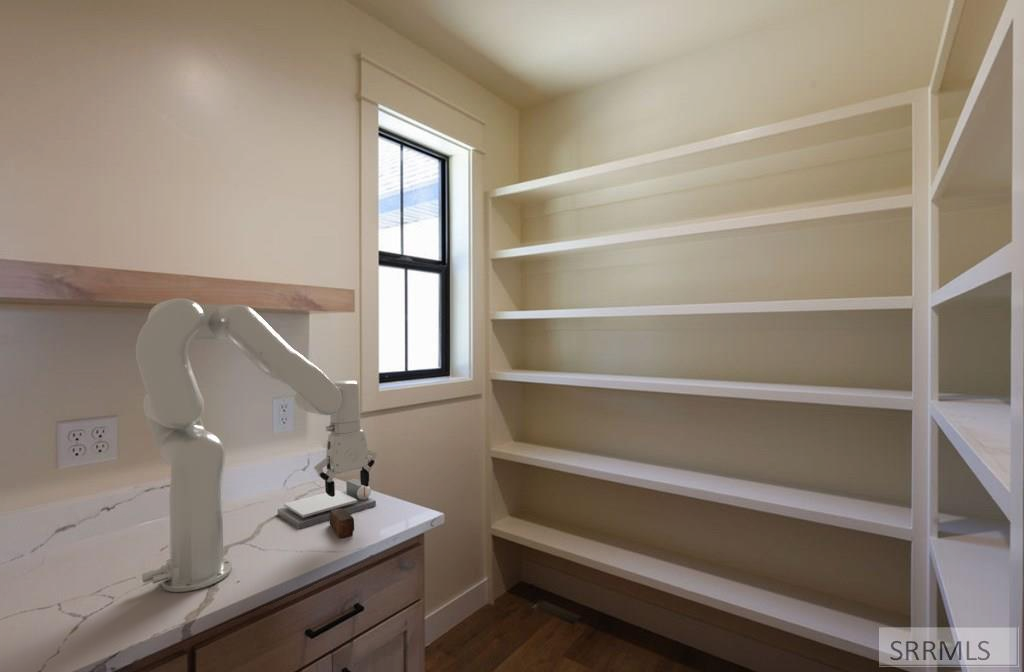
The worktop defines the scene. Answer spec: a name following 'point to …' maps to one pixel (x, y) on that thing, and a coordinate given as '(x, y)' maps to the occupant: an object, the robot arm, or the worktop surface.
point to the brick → (341, 522)
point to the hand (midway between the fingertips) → (348, 490)
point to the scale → (327, 505)
